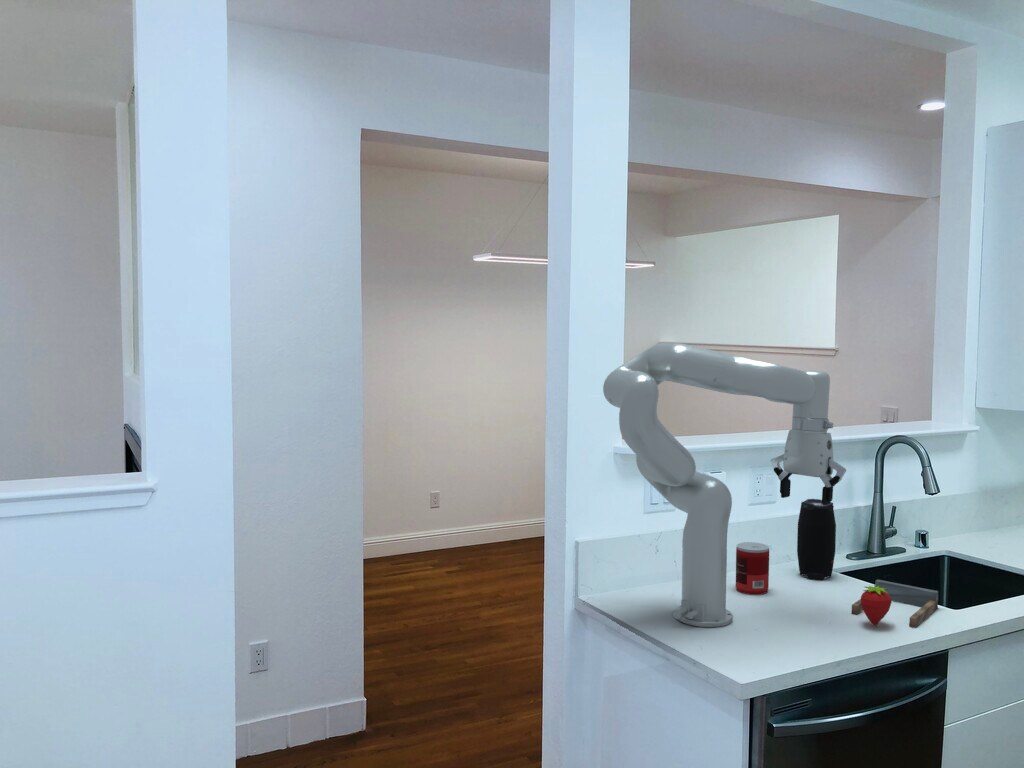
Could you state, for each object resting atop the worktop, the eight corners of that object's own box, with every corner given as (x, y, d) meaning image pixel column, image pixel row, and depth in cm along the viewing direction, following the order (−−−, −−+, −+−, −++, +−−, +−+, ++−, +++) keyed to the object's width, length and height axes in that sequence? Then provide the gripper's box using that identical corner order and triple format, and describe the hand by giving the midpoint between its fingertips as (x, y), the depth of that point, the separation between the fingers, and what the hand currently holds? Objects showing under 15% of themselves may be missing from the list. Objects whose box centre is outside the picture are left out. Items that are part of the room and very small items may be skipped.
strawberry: (896, 624, 179) (897, 579, 178) (881, 633, 174) (883, 586, 173) (868, 617, 183) (870, 573, 182) (854, 626, 178) (855, 580, 177)
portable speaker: (841, 578, 212) (843, 503, 211) (812, 582, 209) (814, 506, 207) (817, 569, 220) (820, 497, 219) (789, 573, 217) (791, 499, 215)
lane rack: (915, 627, 177) (915, 609, 177) (851, 613, 186) (851, 596, 185) (937, 608, 189) (938, 591, 189) (876, 595, 198) (877, 579, 198)
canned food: (773, 589, 203) (774, 545, 202) (760, 597, 197) (761, 551, 196) (744, 583, 208) (745, 540, 207) (730, 590, 202) (730, 546, 201)
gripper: (854, 428, 183) (850, 505, 184) (781, 421, 195) (777, 492, 196) (840, 430, 178) (835, 509, 179) (766, 422, 190) (762, 496, 191)
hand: (805, 500), depth 187 cm, fingers open, 9 cm apart
